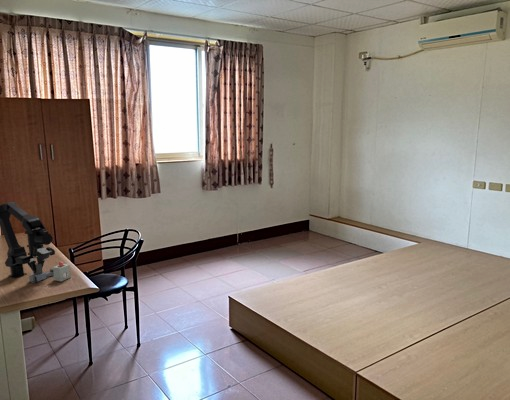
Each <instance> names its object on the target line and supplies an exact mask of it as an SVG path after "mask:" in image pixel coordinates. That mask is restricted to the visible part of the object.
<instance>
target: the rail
mask: <svg viewBox="0 0 510 400" xmlns="http://www.w3.org/2000/svg"><path fill="white" fill-rule="evenodd" d="M44 272H45V271H44ZM45 273H46V279H48V278H51V277H54V272H53V268H49V271H46V272H45ZM28 277H29V278H28V279H29V282H30V283H31V284H32V283H33V284H34V283H37V280H36V277H35V276H30V275H29V276H28Z"/></svg>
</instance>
